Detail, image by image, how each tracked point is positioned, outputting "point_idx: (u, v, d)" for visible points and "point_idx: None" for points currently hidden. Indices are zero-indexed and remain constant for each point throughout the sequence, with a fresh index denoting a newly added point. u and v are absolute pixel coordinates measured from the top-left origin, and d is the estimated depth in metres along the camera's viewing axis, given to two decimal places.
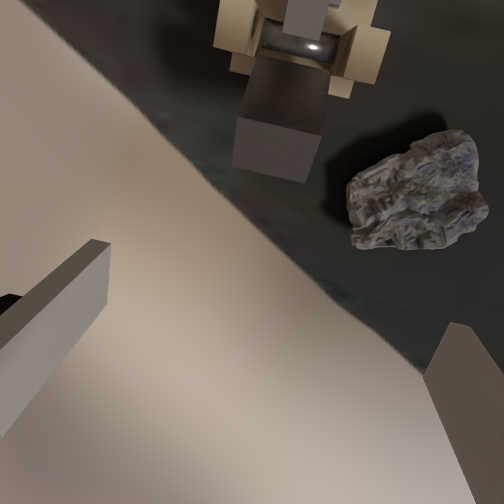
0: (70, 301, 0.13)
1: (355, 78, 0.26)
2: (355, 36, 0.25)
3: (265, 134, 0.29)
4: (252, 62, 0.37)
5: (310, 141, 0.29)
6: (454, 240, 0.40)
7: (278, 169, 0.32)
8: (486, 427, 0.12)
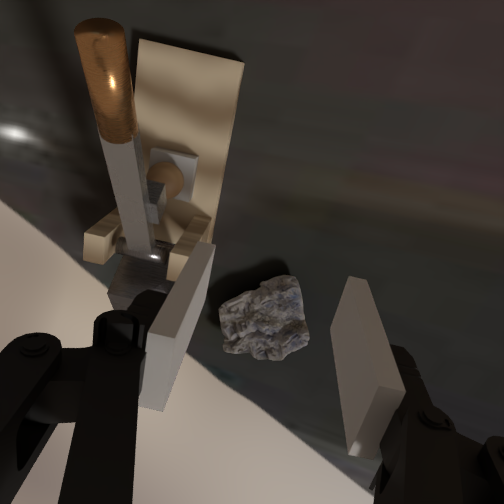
0: (197, 296, 0.15)
1: (173, 280, 0.41)
2: (169, 258, 0.40)
3: (127, 301, 0.44)
4: None
5: None
6: (298, 347, 0.55)
7: None
8: (355, 356, 0.14)
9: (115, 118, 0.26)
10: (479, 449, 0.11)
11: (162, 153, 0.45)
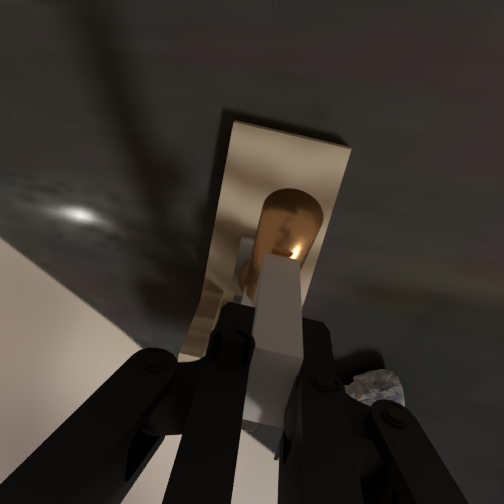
0: None
1: None
2: None
3: None
4: None
5: (250, 423, 0.39)
6: None
7: None
8: None
9: None
10: (366, 415, 0.11)
11: None
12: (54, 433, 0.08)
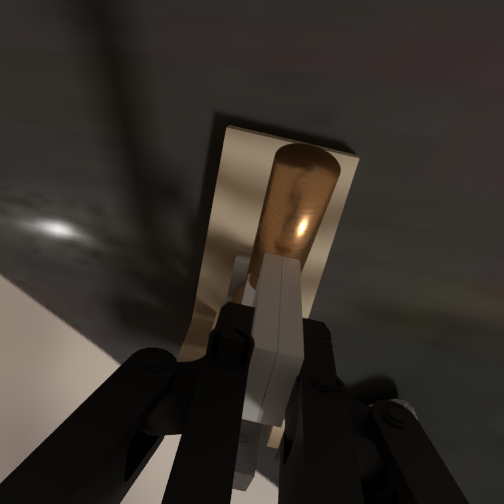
0: None
1: (276, 447, 0.31)
2: None
3: None
4: None
5: (245, 476, 0.33)
6: None
7: None
8: None
9: None
10: (366, 415, 0.11)
11: None
12: (53, 432, 0.08)
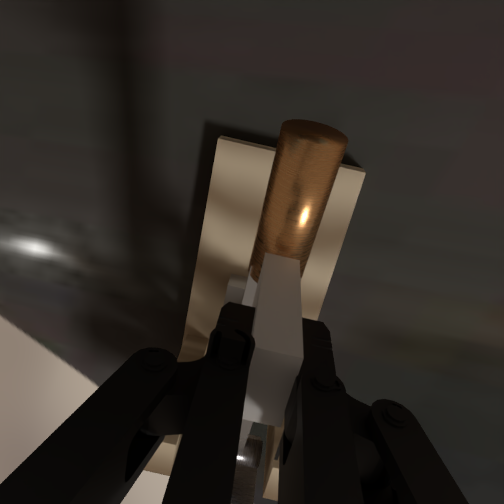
0: None
1: (273, 499, 0.28)
2: (271, 473, 0.27)
3: None
4: None
5: None
6: None
7: None
8: None
9: (295, 253, 0.18)
10: (366, 415, 0.11)
11: (243, 290, 0.33)
12: (54, 433, 0.08)
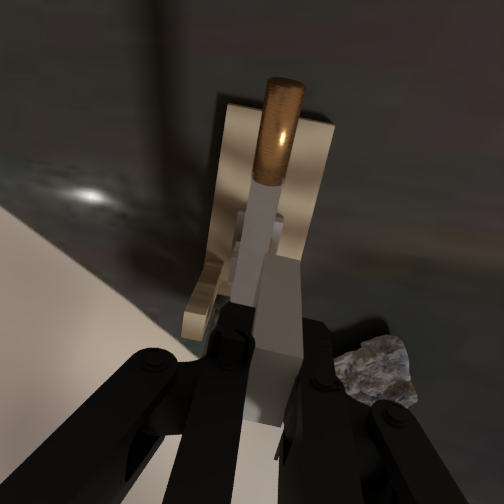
0: None
1: None
2: None
3: None
4: None
5: None
6: None
7: None
8: None
9: (279, 159, 0.29)
10: (366, 415, 0.11)
11: None
12: (54, 433, 0.08)
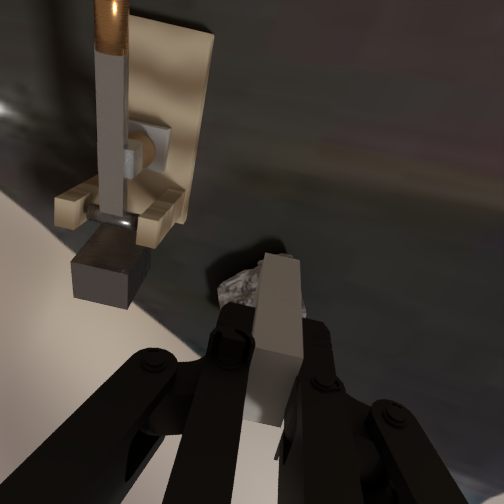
0: None
1: (143, 245, 0.42)
2: (138, 223, 0.41)
3: (91, 273, 0.43)
4: None
5: (121, 278, 0.43)
6: None
7: (106, 299, 0.45)
8: None
9: (112, 24, 0.31)
10: (366, 415, 0.11)
11: (134, 124, 0.46)
12: (54, 433, 0.08)
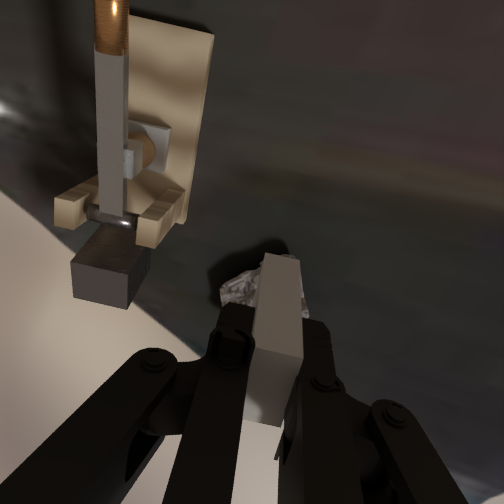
0: None
1: (142, 245, 0.42)
2: (138, 223, 0.41)
3: (90, 273, 0.43)
4: None
5: (121, 278, 0.43)
6: None
7: (106, 299, 0.45)
8: None
9: (112, 24, 0.31)
10: (366, 415, 0.11)
11: (134, 124, 0.46)
12: (54, 433, 0.08)
